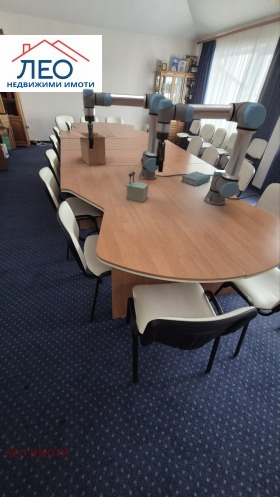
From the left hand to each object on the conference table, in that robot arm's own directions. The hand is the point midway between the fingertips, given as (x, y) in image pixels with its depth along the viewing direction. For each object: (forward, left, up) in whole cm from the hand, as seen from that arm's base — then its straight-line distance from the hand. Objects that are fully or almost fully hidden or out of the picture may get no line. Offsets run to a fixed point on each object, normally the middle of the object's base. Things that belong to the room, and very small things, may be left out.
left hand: (91, 146), depth 173 cm
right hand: (-46, +47, -1) cm, 66 cm away
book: (-92, -6, -28) cm, 97 cm away
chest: (-34, +34, -28) cm, 55 cm away
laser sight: (-57, -56, -28) cm, 85 cm away
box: (+5, -61, -28) cm, 67 cm away
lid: (-34, +33, -18) cm, 51 cm away
